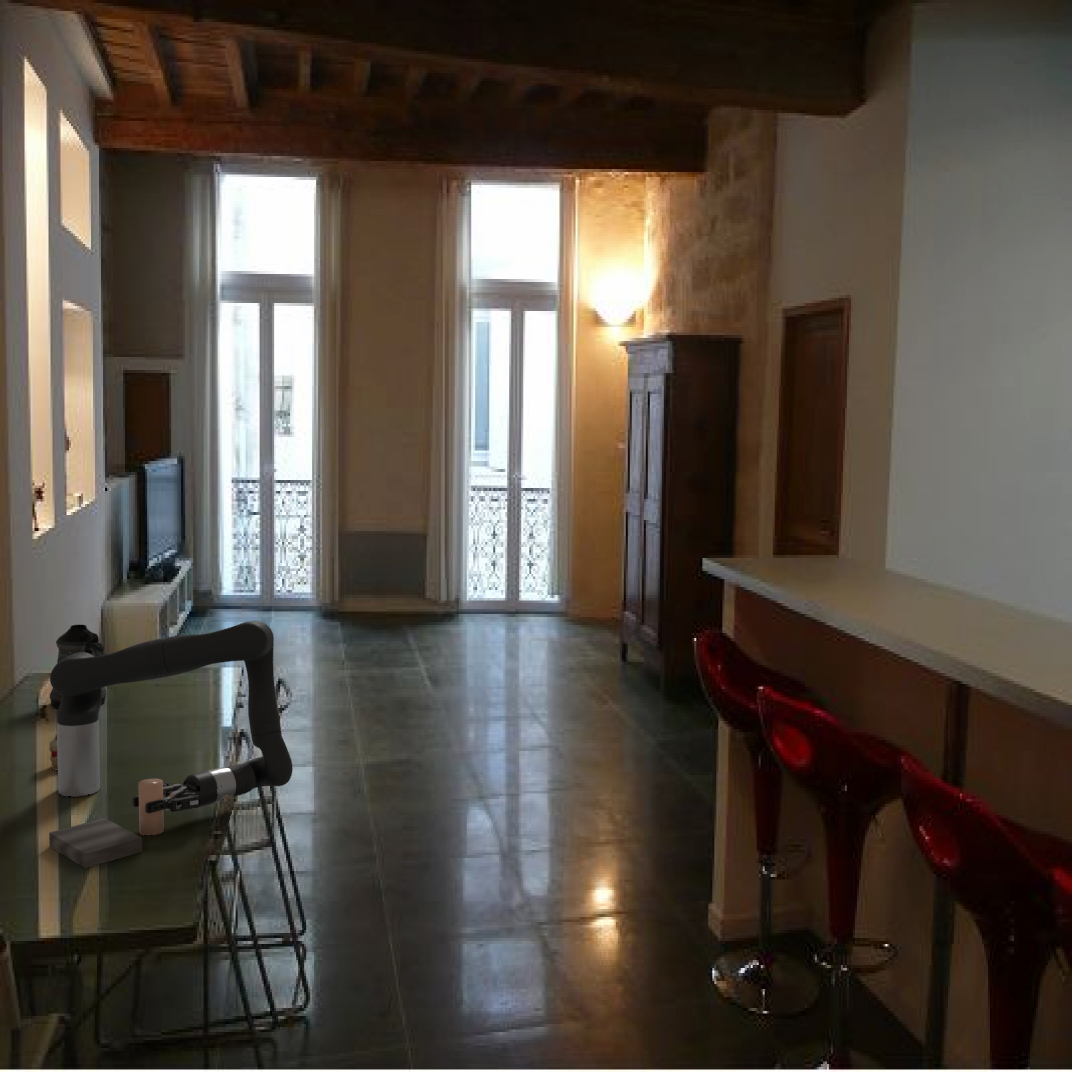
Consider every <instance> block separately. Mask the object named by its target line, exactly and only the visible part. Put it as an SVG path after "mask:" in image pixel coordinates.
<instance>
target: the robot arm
mask: <svg viewBox="0 0 1072 1072" xmlns="http://www.w3.org/2000/svg"><path fill="white" fill-rule="evenodd" d="M274 642H275V639H274V632H273V630H272V628H271V627H270V626H269V625H268V624H267V623H265V622H263V621H259V620H249V621H244V622H240V623H238V624H236V625H233V626H230V627H227V628H224V629H223V628H222V629H220V630H217V631H212V632H208V633H201V634H200V633H199V634H182V635H172V636H167V637H162V638H161V637H160V638H157V639H151V640H147V641H143V642H140V643H137V644H133V645H131V646H129V647H126V648H123V649H120V650H118V651H115V652H112V653H109V654H106V655H103V656H96V657H94V656H93V655H91V654H89V653H86V652H78V653H74V654H72V655H70V656H68V657H66V658H64V659H63V660H61V661H60V662H58V663H57V662H56V664H55V665H54V667H53V668H52V670H51V672H50V676H49V682H50V683H49V684H50V685H51V687H52V688H54V689H55V690H56V691H57V692H58V693H60V694H62V700H61V704H60V706H59V708H58V709H57V711H56V733H57V750H58V752H57V755H58V771H57V789H58V791H57V792H58V794H59V795H60V794H61V795H60V796H62V797H68V796H71V797H73V798H75V797H85V796H88V794H89V795H92V794H95V793H96V792H99V791H100V789H101V774H100V773H101V772H100V771H101V770H100V769H101V768H100V764H101V763H100V723H99V722H100V721H99V719H100V718H99V716H100V715H99V714H100V709H101V706H102V705H101V693H102V688H103V687H105V688H106V687H111V686H115V685H119V684H127V683H128V684H129V683H138V682H145V681H150V680H156V679H157V680H159V679H162V678H168V677H172V676H178V675H181V674H185V673H188V672H192V671H195V670H198V669H201V668H204V667H206V666H210V665H213V664H214V665H215V664H221V663H229V662H230V663H231V662H242V661H243V662H244V664H245V669H246V673H247V683H248V686H247V687H248V698H247V699H248V702H247V703H248V704H247V711H248V713H247V714H248V723H249V729H250V737H251V741H252V744H253V746H254V747H256V748H258V749H259V750H260V751H261V754H262V756H258V757H255V758H253V759H250V760H247V761H245V762H243V763H238V764H234V765H230V766H226V767H219V768H218V767H217V768H212V769H209V770H208V769H207V770H204V771H201V772H196V773H192V774H189V775H188V776H186V778H185V779H184V781H183V783H182V784H181V783H176V784H175V783H174V784H172V785H170V782H169V781H165V782H163V800H162V799H160V800H156V801H152V802H148V803H146V805H145V811H146V813H148V814H149V813H153V812H157V811H160V810H163V811H164V812H165V811H170V812H172V813H175V812H180V811H181V812H182V811H185V810H186V811H187V810H191V809H198V808H202V807H206V806H210V805H214V804H217V803H220V801H221V799H222V797H223V796H225V795H229V796H231V798H234V797H238V796H242V795H245V794H247V793H249V792H252V790H254V789H257V788H261V787H282V786H285V785H286V784H288V783H289V782H290V780H291V778H292V776H293V761H292V758H291V755H290V752H289V749H288V747H287V744H286V742H285V741H284V738H283V733H282V727H281V721H280V714H279V713H280V712H279V707H278V701H277V693H276V687H275V676H274V673H275V672H274V644H275V643H274ZM164 796H165V797H164ZM131 800H132V801H131V802H132V807H134V808H139V794H138V795H135V796H132V799H131ZM221 802H222V801H221Z"/></svg>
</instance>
